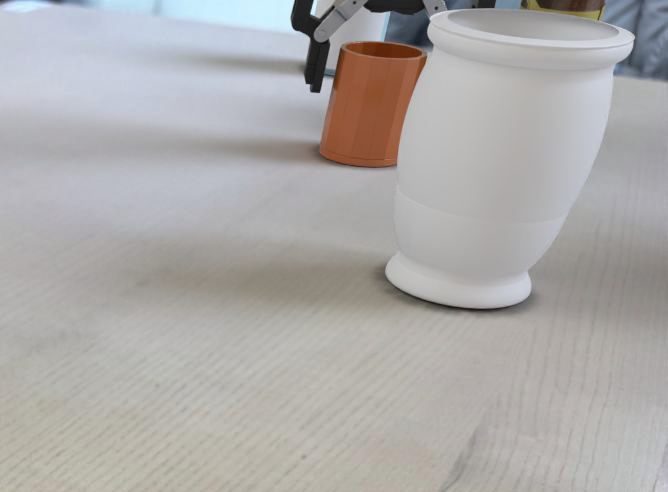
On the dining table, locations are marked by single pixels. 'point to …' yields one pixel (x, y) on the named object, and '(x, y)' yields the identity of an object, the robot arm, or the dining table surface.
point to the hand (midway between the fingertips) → (370, 95)
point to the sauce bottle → (567, 7)
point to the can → (352, 30)
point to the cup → (370, 102)
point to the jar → (497, 149)
